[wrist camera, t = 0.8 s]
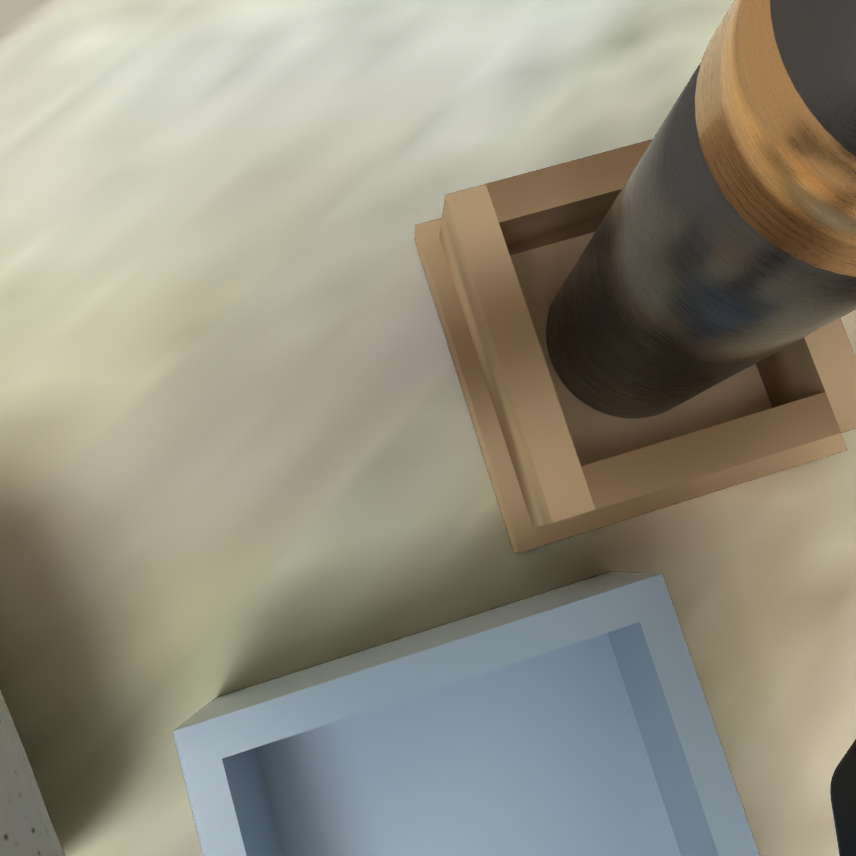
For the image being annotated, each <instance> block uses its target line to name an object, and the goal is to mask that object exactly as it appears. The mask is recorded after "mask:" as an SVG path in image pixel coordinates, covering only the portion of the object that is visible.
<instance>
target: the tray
mask: <svg viewBox="0 0 856 856" xmlns="http://www.w3.org/2000/svg"><path fill="white" fill-rule="evenodd" d="M173 735H174V739H175V743H176V747H177V751H178V755H179V759H180V763H181V767H182V771H183V775H184V779H185V783H186V787H187V791H188V795H189V800H190V804H191V808H192V812H193V816H194V820H195V824H196V828H197V832H198V836H199V840H200V844H201V848H202V852H203V856H760V855H759V852H758V849H757V846H756V843H755V840H754V837H753V835H752V832H751V829H750V826H749V823H748V820H747V817H746V814H745V811H744V808H743V806H742V803H741V800H740V797H739V794H738V791H737V788H736V785H735V782H734V780H733V777H732V774H731V771H730V768H729V765H728V762H727V759H726V756H725V753H724V751H723V748H722V745H721V742H720V739H719V736H718V733H717V730H716V727H715V725H714V722H713V719H712V716H711V713H710V710H709V707H708V704H707V701H706V698H705V696H704V693H703V690H702V687H701V684H700V681H699V678H698V675H697V672H696V670H695V667H694V664H693V661H692V658H691V655H690V652H689V649H688V646H687V643H686V641H685V638H684V635H683V632H682V629H681V626H680V623H679V620H678V617H677V615H676V612H675V609H674V606H673V603H672V600H671V597H670V594H669V591H668V588H667V586H666V583H665V580H664V577H663V574H658V573H637V572H616V571H610V572H607V573H604V574H601V575H598V576H595V577H592V578H589V579H585V580H582V581H579V582H576V583H573V584H570V585H567V586H564V587H560V588H557V589H554V590H551V591H548V592H545V593H542V594H539V595H535V596H532V597H529V598H526V599H523V600H520V601H517V602H514V603H510V604H507V605H504V606H501V607H498V608H495V609H492V610H489V611H485V612H482V613H479V614H476V615H473V616H470V617H467V618H464V619H460V620H457V621H454V622H451V623H448V624H445V625H442V626H439V627H435V628H432V629H429V630H426V631H423V632H420V633H417V634H414V635H410V636H407V637H404V638H401V639H398V640H395V641H392V642H389V643H385V644H382V645H379V646H376V647H373V648H370V649H367V650H364V651H360V652H357V653H354V654H351V655H348V656H345V657H342V658H339V659H335V660H332V661H329V662H326V663H323V664H320V665H317V666H314V667H310V668H307V669H304V670H301V671H298V672H295V673H292V674H288V675H285V676H282V677H279V678H276V679H273V680H270V681H267V682H263V683H260V684H257V685H254V686H251V687H248V688H245V689H242V690H238V691H235V692H232V693H229V694H226V695H223V696H220V697H217V698H215V699H214V700H212V701H211V702H210V703H209V704H207V705H206V706H205V707H203V708H202V709H201V710H200V711H198V712H197V713H196V714H194V715H193V716H192V717H191V718H189V719H188V720H187V721H186V722H184V723H183V724H182V725H180V726H179V727H178V728H177V729H175V730H174V731H173Z"/></svg>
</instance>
